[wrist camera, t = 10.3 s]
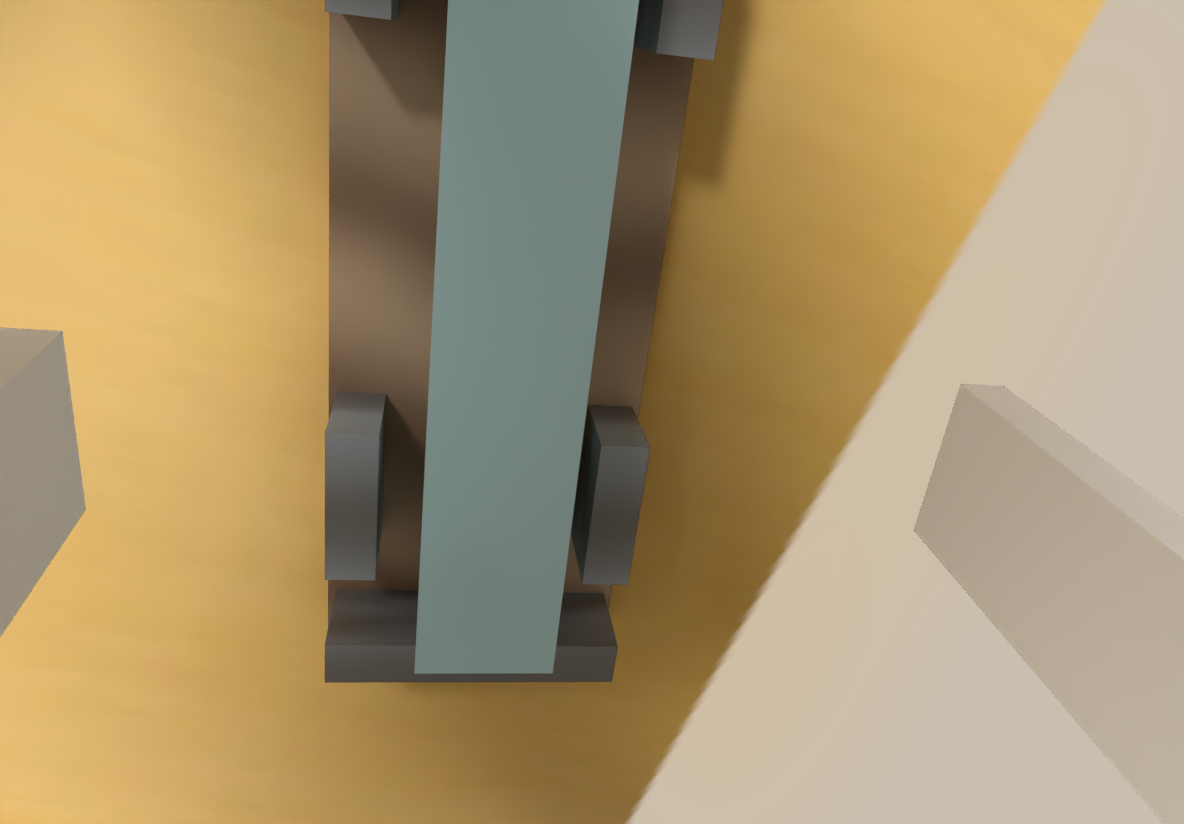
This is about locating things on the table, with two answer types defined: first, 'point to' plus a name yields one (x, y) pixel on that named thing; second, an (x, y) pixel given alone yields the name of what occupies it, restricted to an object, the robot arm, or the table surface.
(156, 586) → the table surface
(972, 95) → the table surface
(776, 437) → the table surface
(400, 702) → the table surface
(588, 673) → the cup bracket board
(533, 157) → the rail
